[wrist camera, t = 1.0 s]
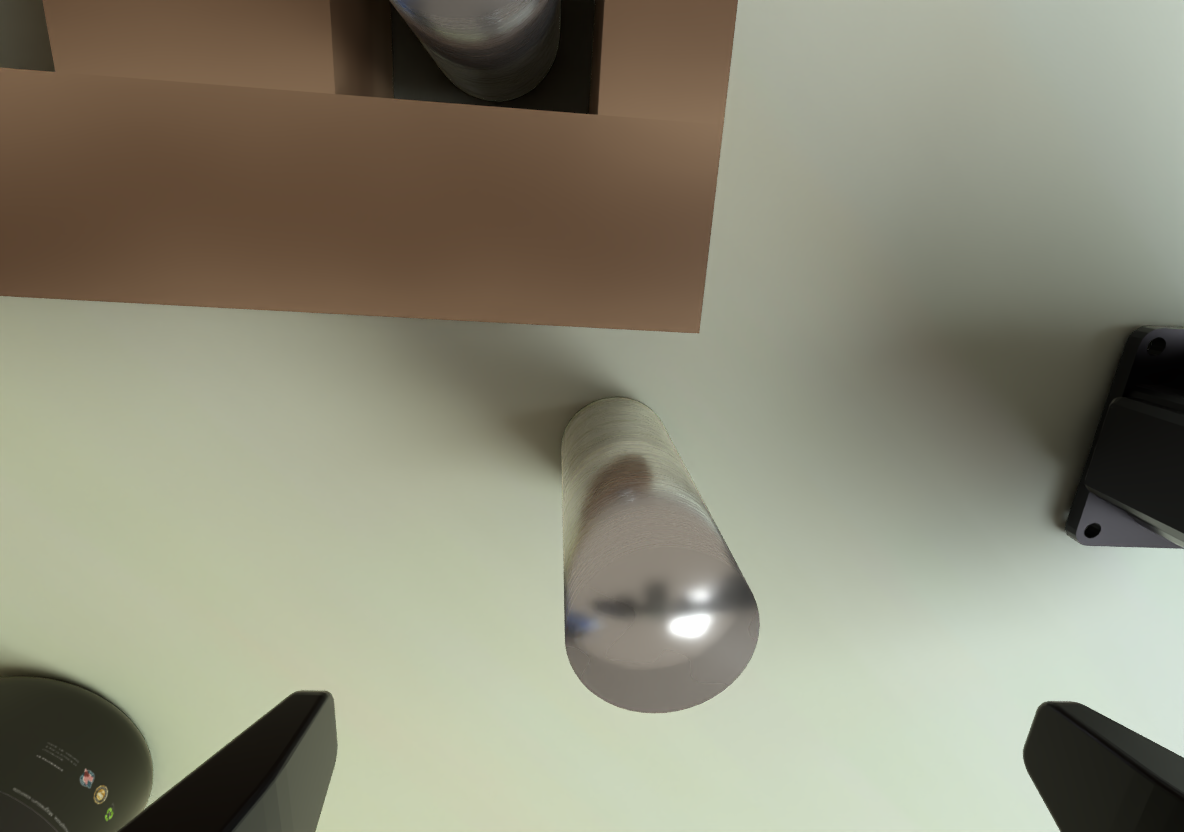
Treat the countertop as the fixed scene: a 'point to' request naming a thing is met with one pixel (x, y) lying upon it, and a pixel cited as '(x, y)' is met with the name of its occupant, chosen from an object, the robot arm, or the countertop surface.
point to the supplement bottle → (68, 759)
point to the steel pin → (646, 568)
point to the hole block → (358, 169)
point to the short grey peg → (487, 42)
